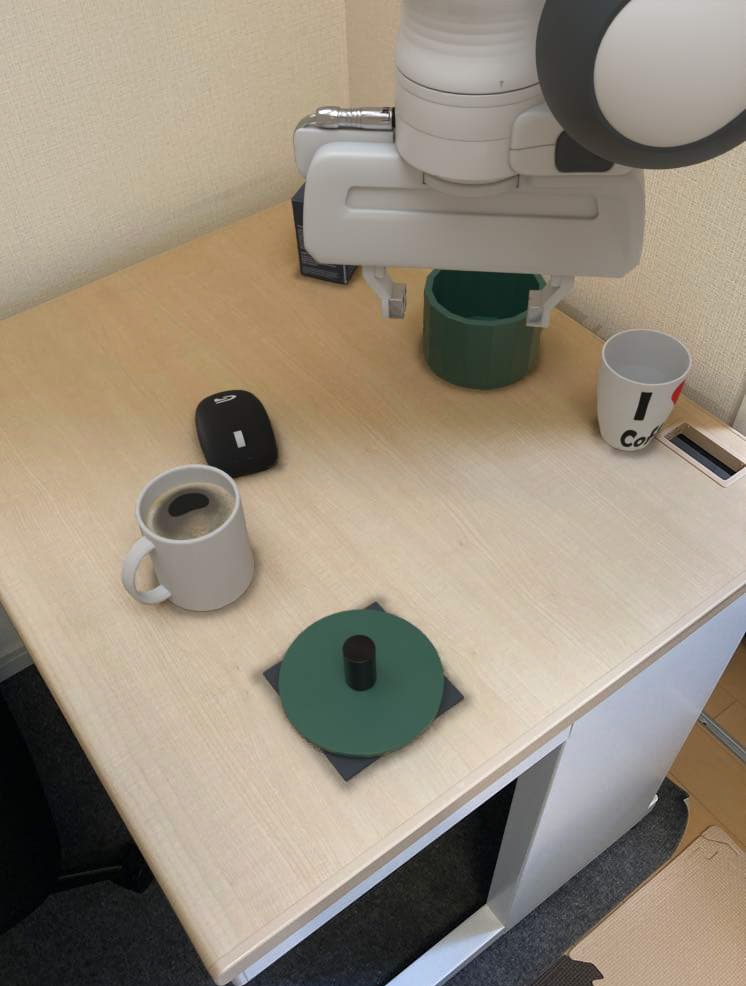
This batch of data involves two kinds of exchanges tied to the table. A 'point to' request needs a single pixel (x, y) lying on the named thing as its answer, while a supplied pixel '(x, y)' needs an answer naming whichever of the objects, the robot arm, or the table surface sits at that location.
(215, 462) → the computer mouse
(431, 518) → the table surface
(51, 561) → the table surface
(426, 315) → the tin
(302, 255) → the box
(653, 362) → the cup
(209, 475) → the mug
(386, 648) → the tin lid
